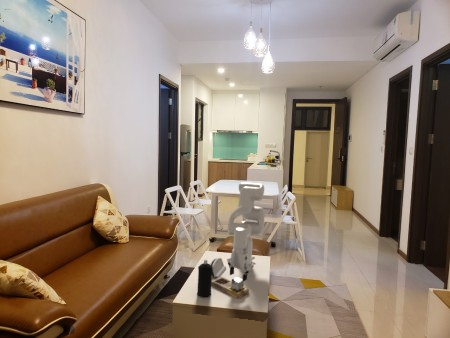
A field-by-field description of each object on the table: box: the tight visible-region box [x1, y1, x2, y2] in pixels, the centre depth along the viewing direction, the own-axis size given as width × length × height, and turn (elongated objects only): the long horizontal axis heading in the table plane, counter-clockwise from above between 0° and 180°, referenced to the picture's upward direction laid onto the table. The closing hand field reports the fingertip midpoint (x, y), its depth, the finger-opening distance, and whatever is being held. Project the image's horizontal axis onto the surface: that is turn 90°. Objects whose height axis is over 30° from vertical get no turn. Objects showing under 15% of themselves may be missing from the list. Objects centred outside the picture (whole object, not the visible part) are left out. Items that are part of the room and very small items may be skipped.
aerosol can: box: [196, 259, 213, 298], centre depth 174 cm, size 8×8×20 cm
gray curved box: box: [209, 257, 227, 279], centre depth 203 cm, size 17×5×10 cm, turn 161°
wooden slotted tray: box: [211, 276, 250, 300], centre depth 182 cm, size 9×22×3 cm, turn 48°
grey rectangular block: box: [231, 276, 245, 293], centre depth 178 cm, size 5×5×8 cm
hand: (238, 277), depth 178 cm, fingers open, 9 cm apart
